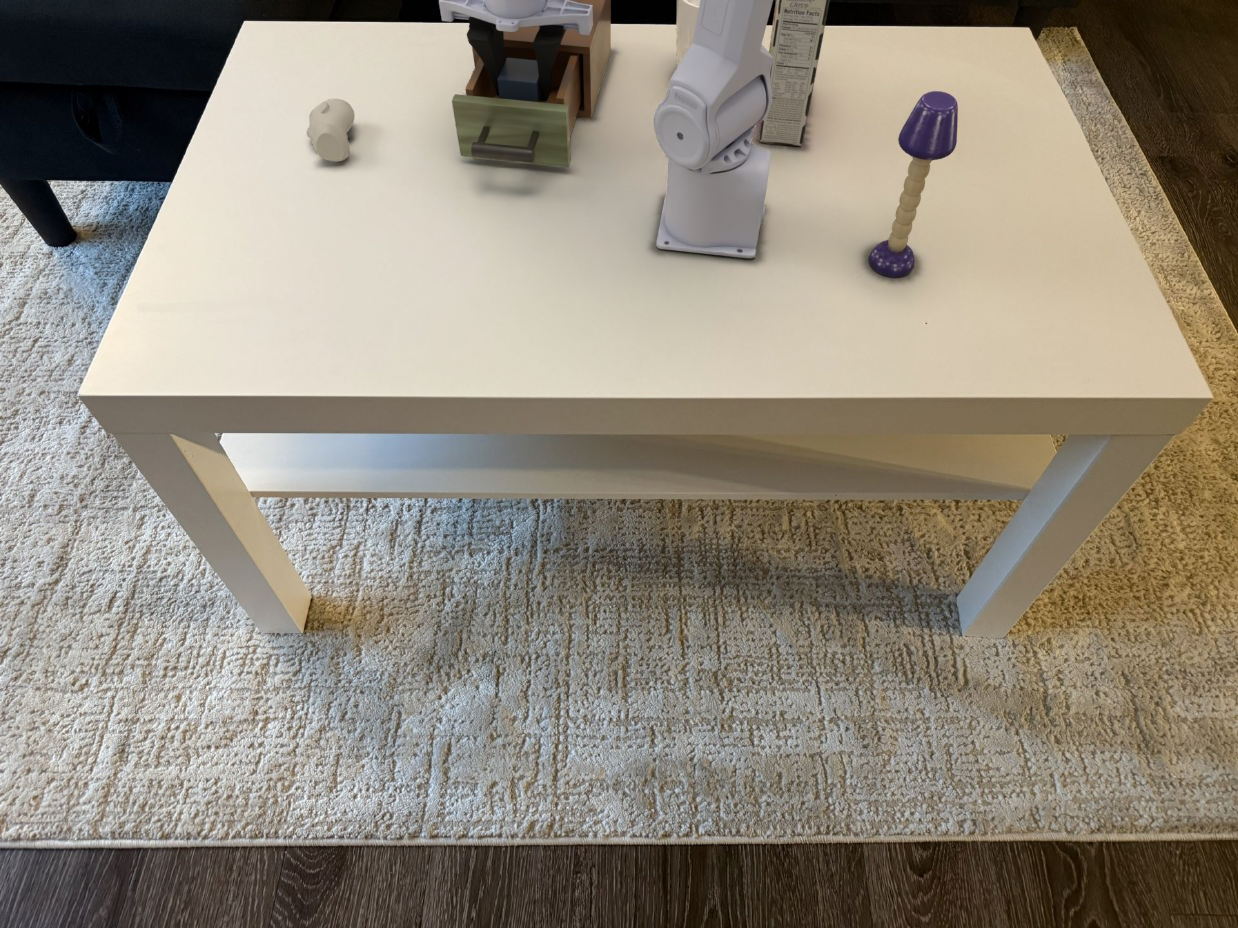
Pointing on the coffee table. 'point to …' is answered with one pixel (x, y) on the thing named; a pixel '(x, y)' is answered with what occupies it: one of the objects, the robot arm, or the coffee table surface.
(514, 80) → the block
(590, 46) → the cabinet
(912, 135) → the toy lamp
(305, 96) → the coffee table surface
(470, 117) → the drawer
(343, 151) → the pale two-lobed sculpture
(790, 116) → the candy bar box
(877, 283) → the coffee table surface
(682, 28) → the white cup
